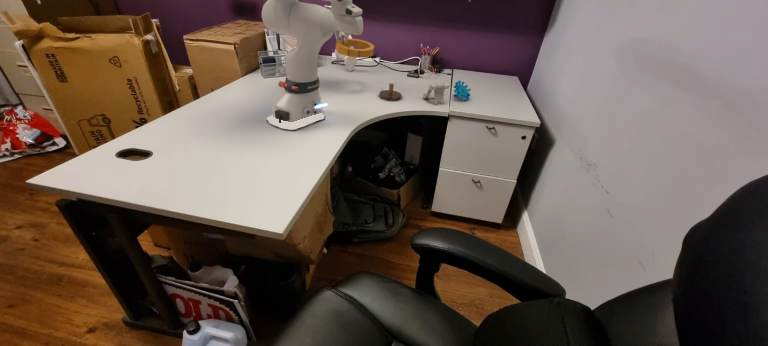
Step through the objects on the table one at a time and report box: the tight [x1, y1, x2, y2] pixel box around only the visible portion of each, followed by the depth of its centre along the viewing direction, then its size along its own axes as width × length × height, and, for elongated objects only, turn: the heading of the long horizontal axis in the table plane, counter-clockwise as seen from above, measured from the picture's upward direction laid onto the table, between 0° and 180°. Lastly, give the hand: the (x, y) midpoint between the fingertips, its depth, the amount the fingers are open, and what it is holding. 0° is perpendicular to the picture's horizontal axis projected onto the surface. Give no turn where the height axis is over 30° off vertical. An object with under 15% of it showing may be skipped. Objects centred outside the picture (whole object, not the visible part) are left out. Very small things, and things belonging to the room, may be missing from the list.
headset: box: [332, 31, 357, 72], centre depth 174 cm, size 20×7×18 cm, turn 26°
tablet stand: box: [422, 83, 450, 105], centre depth 145 cm, size 9×8×8 cm
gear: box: [453, 79, 472, 102], centre depth 152 cm, size 11×6×10 cm
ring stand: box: [379, 82, 402, 102], centre depth 146 cm, size 10×10×6 cm
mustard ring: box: [335, 38, 375, 59], centre depth 143 cm, size 17×17×3 cm
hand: (341, 42), depth 145 cm, fingers closed on mustard ring, 2 cm apart
